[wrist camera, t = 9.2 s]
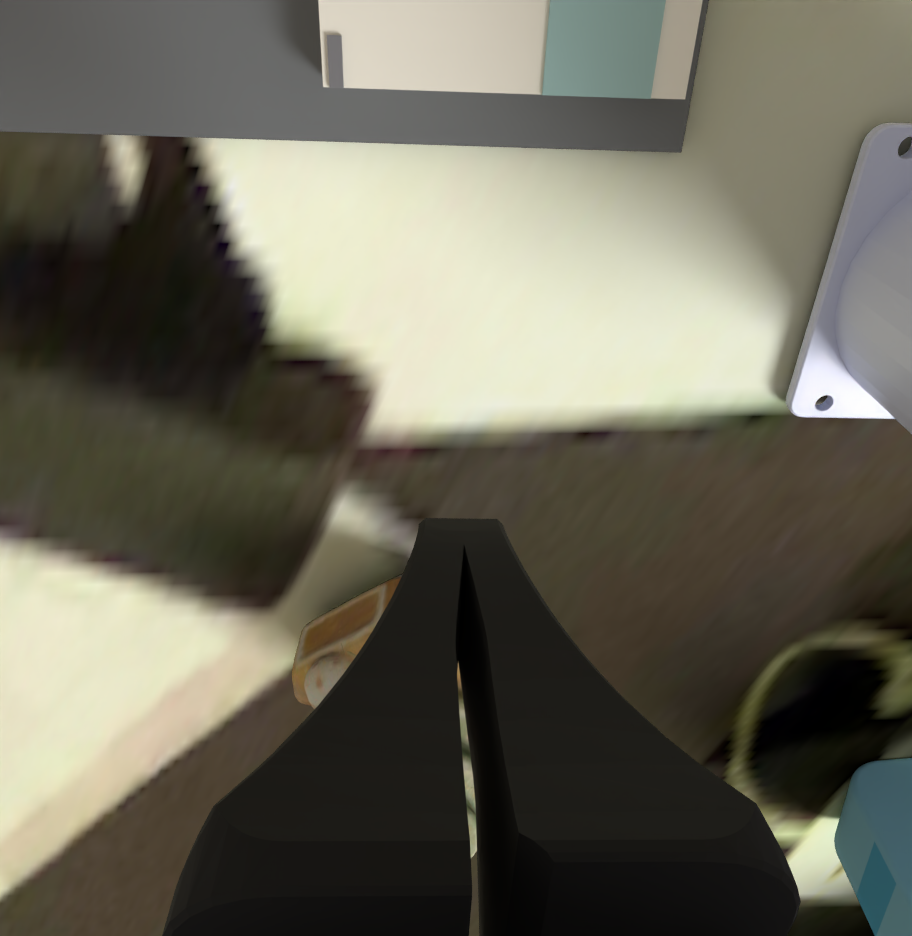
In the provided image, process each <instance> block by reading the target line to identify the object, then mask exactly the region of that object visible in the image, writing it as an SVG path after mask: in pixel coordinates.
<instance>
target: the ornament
mask: <svg viewBox="0 0 912 936" xmlns="http://www.w3.org/2000/svg"><path fill="white" fill-rule="evenodd" d="M402 575H403V574H402ZM402 575H399V576H397V577H395V578H393V579H390V580H388V581H386V582H384V583H382V584H380V585H378V586H376V587H374V588H372V589H370V590H368V591H366V592H364V593H362V594H360V595H358V596H356V597H355V598H353V599H351V600H349V601H347V602H346V603H344V604H342V605H340V606H338V607H336V608H334V609H333V610H331V611H329V612H327V613H325V614H323V615H321V616H319V617H318V618H316V619H315V620H313V621H311V622H310V623H308V624H307V625H306V626H305V627H304V629H303V630H302V633H301V637H300V640H299V644H298V648H297V651H296V655H295V659H294V664H293V669H292V680H293V687H294V694H295V697H296V698H297V700H298V701H299V702H301V703H303V704H306V705H310V706H312V707H313V708H314V709H315V708H316V707H317V706H318V705H319V704H320V702H321V701H322V700H323V699H324V698H325V696H326V695H327V694H328V693H329V691H330V690H331V689H332V688H333V686H334V685H335V684H336V683H337V681H338V680H339V679H340V678H341V676H342V675H343V674H344V672H345V671H346V670H347V668H348V667H349V665H350V664H351V663H352V661H353V660H354V658H355V657H356V656H357V654H358V653H359V651H360V650H361V648H362V647H363V645H364V644H365V642H366V641H367V639H368V637H369V636H370V634H371V633H372V631H373V629H374V628H375V626H376V624H377V622H378V621H379V619H380V617H381V615H382V614H383V612H384V610H385V609H386V607H387V605H388V603H389V601H390V600H391V598H392V596H393V594H394V592H395V589H396V587H397V585H398V583H399V581H400V579H401V577H402ZM457 681H458V697H459V714H460V728H461V742H462V756H463V769H464V781H465V792H466V804H467V815H468V825H469V835H470V852H471V857H472V856H473V855H474V854H475V852H476V851H477V836H476V807H475V793H474V782H473V772H472V765H471V757H470V749H469V741H468V734H467V726H466V718H465V710H464V703H463V695H462V687H461V679H460V671H459V663H458V670H457Z"/></svg>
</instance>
